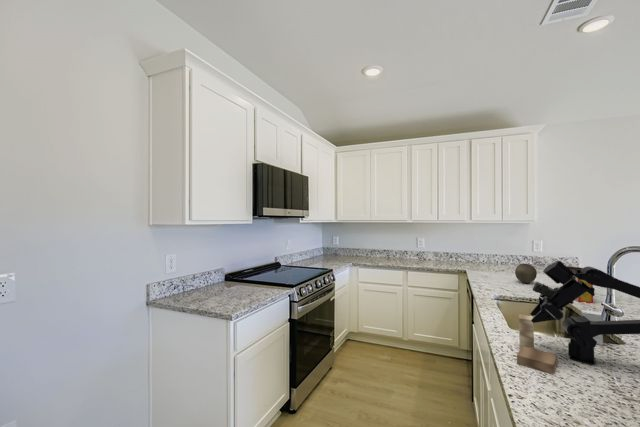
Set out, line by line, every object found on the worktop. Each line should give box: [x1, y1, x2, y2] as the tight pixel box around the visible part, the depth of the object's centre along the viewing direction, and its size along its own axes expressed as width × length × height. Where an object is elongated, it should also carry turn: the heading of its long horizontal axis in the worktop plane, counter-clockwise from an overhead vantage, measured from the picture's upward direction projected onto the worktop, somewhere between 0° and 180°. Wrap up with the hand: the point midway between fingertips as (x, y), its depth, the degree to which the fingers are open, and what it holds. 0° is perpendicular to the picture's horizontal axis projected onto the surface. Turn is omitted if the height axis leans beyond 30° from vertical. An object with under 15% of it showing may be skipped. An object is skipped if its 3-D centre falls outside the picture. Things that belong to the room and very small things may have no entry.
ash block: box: [518, 314, 535, 350], centre depth 114 cm, size 4×6×12 cm
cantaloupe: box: [514, 263, 538, 284], centre depth 226 cm, size 14×14×15 cm
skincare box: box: [581, 309, 604, 346], centre depth 119 cm, size 6×4×12 cm
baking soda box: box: [575, 277, 594, 304], centre depth 177 cm, size 10×6×16 cm
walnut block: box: [516, 346, 558, 375], centre depth 102 cm, size 10×10×4 cm
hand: (531, 318), depth 113 cm, fingers open, 9 cm apart
